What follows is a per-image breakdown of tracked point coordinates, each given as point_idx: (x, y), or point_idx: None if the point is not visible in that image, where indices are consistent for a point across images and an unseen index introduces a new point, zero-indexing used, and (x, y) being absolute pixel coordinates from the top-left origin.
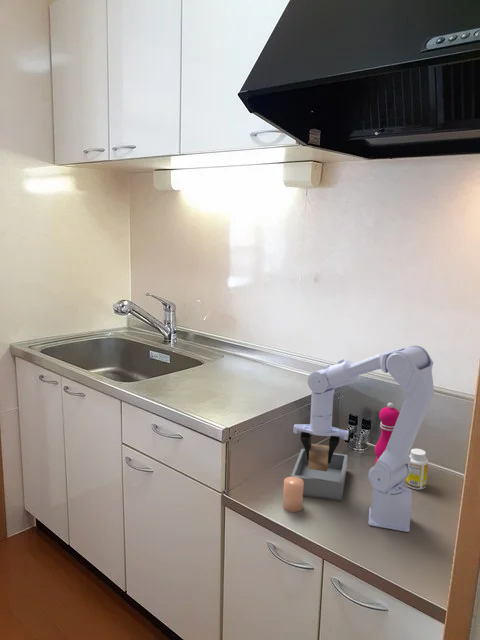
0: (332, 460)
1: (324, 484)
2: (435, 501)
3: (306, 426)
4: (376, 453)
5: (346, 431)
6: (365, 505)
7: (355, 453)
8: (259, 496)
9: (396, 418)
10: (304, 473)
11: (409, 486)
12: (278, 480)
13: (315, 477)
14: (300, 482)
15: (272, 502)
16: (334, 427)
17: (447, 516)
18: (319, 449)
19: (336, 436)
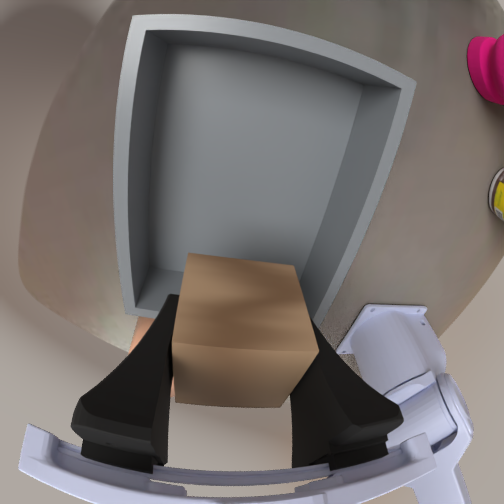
0: (327, 64)
1: None
2: (491, 250)
3: (106, 493)
4: (502, 75)
5: (425, 468)
6: (361, 292)
7: None
8: (74, 291)
9: None
10: (173, 137)
11: (490, 204)
12: (86, 198)
13: (224, 164)
14: (173, 387)
15: (111, 311)
16: (377, 496)
17: (474, 292)
18: (235, 388)
19: (354, 467)
